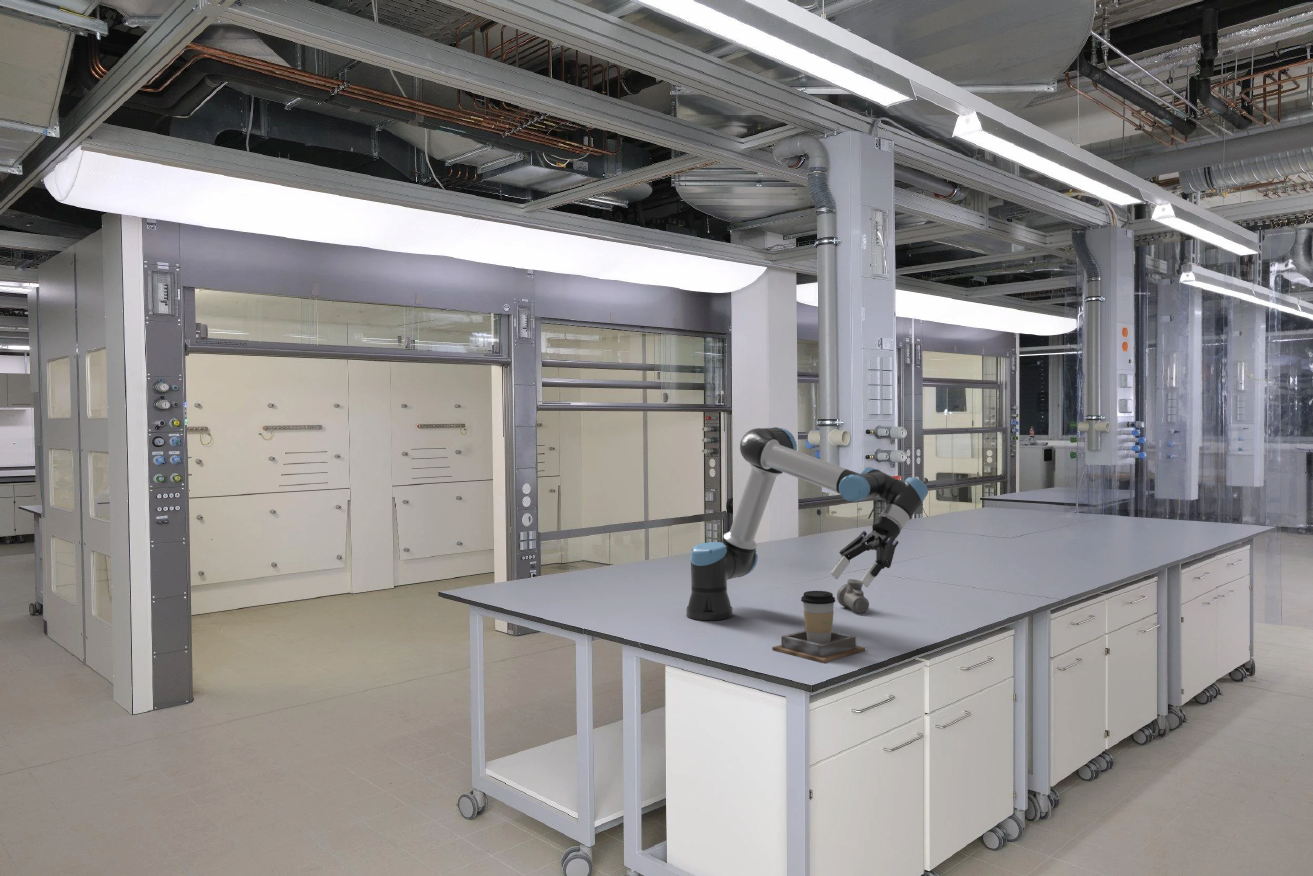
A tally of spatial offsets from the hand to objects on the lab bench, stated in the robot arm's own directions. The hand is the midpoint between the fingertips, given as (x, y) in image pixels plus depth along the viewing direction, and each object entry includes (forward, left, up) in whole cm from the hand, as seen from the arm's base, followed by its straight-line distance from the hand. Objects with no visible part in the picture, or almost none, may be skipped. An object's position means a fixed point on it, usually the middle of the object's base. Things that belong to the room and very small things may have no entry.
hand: (848, 580), depth 248 cm
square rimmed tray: (-3, -10, -19) cm, 21 cm away
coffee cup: (-3, -10, -18) cm, 21 cm away
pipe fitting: (-27, +38, -19) cm, 50 cm away
